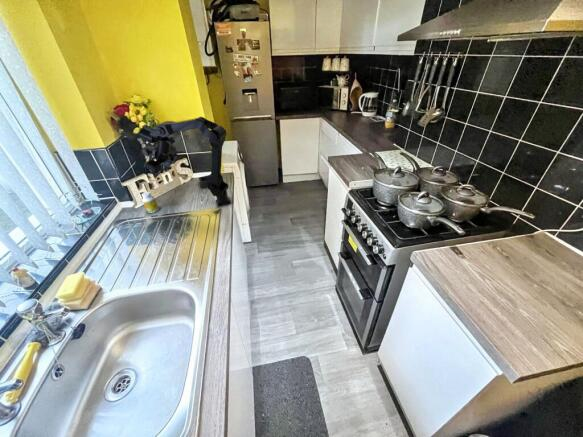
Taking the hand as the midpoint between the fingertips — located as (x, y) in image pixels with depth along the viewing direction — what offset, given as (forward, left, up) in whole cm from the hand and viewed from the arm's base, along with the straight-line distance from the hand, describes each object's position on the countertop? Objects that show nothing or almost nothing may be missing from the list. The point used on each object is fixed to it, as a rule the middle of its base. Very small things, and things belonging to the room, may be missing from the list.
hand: (160, 173), depth 126 cm
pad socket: (+7, -22, -15) cm, 28 cm away
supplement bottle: (-8, +9, -15) cm, 19 cm away
